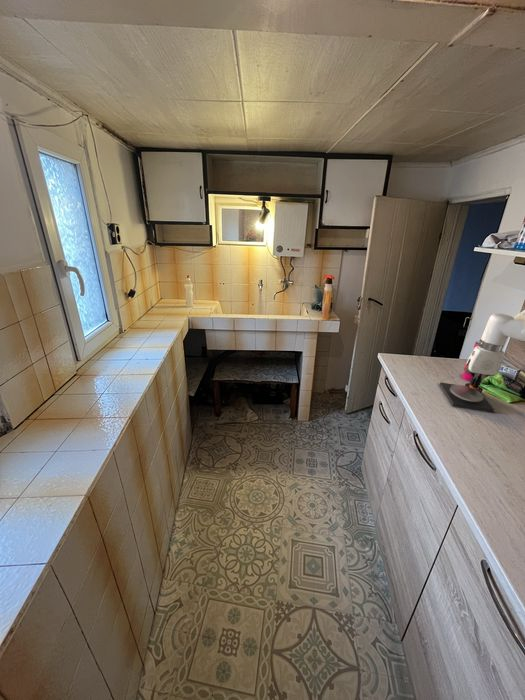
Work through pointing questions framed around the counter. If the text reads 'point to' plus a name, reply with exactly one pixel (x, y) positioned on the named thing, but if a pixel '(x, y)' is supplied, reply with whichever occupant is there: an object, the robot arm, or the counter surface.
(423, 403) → the counter surface
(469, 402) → the scale
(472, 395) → the weighing plate
